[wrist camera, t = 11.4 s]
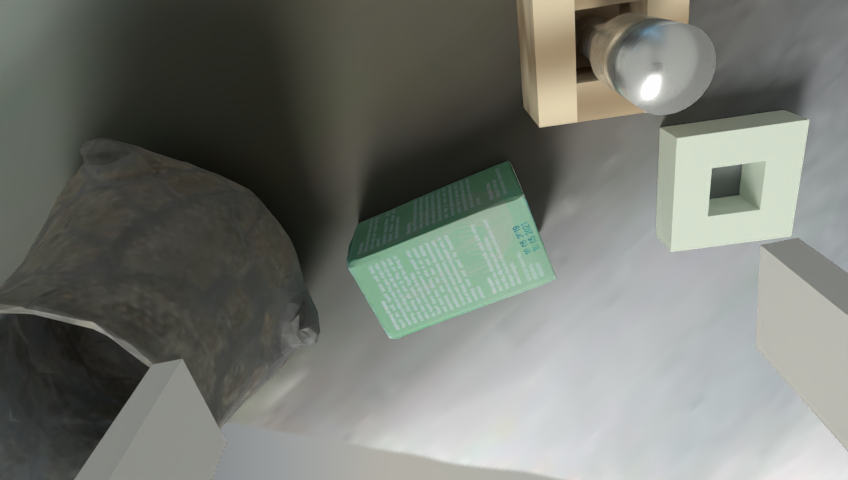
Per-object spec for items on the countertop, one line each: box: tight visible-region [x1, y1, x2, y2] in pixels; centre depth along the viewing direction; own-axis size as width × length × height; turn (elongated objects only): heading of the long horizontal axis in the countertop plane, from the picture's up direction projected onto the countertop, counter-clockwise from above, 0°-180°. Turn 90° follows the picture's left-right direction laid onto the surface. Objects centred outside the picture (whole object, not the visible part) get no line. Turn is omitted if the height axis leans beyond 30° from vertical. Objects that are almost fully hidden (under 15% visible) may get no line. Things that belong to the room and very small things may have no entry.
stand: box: [656, 110, 810, 252], centre depth 41 cm, size 9×9×3 cm
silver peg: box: [575, 12, 716, 115], centre depth 31 cm, size 4×4×14 cm
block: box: [516, 0, 690, 128], centre depth 36 cm, size 9×9×6 cm
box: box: [347, 161, 557, 339], centre depth 41 cm, size 7×14×8 cm, turn 115°
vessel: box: [0, 138, 320, 480], centre depth 36 cm, size 22×22×20 cm
